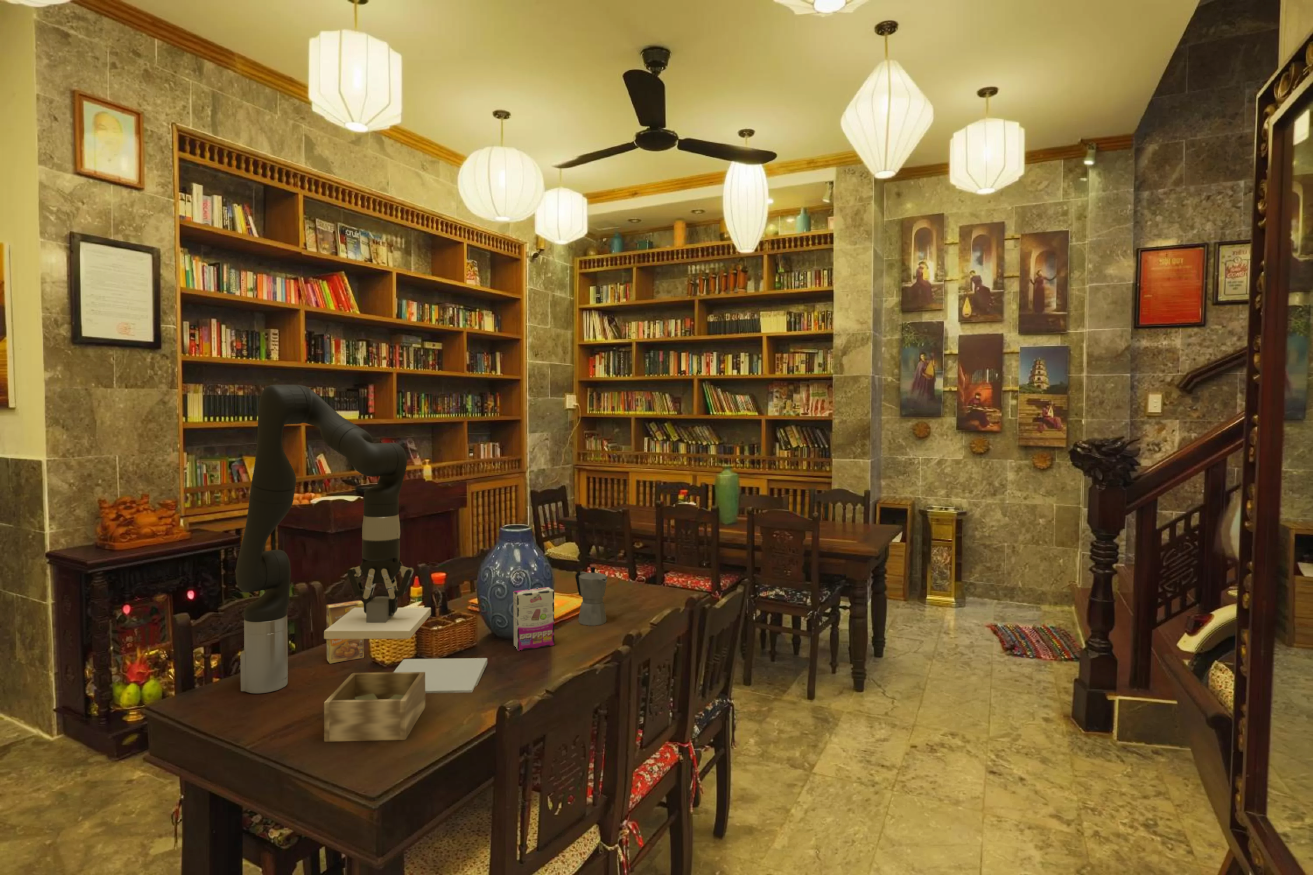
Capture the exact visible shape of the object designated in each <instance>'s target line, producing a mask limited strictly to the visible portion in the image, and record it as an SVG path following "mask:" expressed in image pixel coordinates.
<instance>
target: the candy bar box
mask: <svg viewBox="0 0 1313 875" xmlns="http://www.w3.org/2000/svg"><path fill="white" fill-rule="evenodd" d="M529 589H530V590H528V589H519V590H513V591H512V593H513V594H512V595H513V596H512V601H513V602H512V603H513V604H512V605H513V607H512V608H513V613H512V614H513V618H512V619H513V647H514V646H515V647H516V648H515V647H514V648H515V649H516V651H518V652H521V651H527V650H533V649H539V648H547V647H551V646H555V590H554V589H553V588H551V586H548V587H547V586H546V587H538V589H536V588H529ZM520 650H521V651H520Z"/></svg>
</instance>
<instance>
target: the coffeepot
mask: <svg viewBox="0 0 1313 875" xmlns="http://www.w3.org/2000/svg"><path fill="white" fill-rule="evenodd" d="M574 578H575V581H576V587H577V591H578V595H579V596H580V597H582V601H581V602H580V603H581V604H580V608H579V614H578V619H577V620H578V623H579V624H580V625H583V626H586V625H588V626H589V627H594V626H595V627H596V625H598V626H602V625H604V624H606V622H608V620H607V615H606V614H607V613H606V608H605V603H604V597H605V594H606V588H607V582H608V575H606V574H604V573H600V572H596V567H595V566H590V572H586V571H583V570H577V572H576V573H575V576H574Z"/></svg>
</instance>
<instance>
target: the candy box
mask: <svg viewBox="0 0 1313 875" xmlns="http://www.w3.org/2000/svg"><path fill="white" fill-rule="evenodd" d="M325 606H326V610H325V612H326V629H327V628H329V627H330V626H331V625H333V624H334V623H335V622H336V621H338V620H339V619H340V618H342V617H343V616H344V615H345V614H347V613H348V612H349V611H351V610H352V609H353V608H364V601H362V600H361V599H358V600H352V601H351V600H350V601H344V602H339V603H338V602H337V603H329V604H326V605H325ZM364 640H365V639H326V660H327V662H328V663H329V664H330V665H331V664H334V663H339V662H347V661H352V660H354V661H355V660H358V659H364V657H365V650H364V646H365V643H364V642H365V641H364Z"/></svg>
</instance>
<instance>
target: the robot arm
mask: <svg viewBox="0 0 1313 875" xmlns="http://www.w3.org/2000/svg"><path fill="white" fill-rule="evenodd" d="M257 412H258V413H257V437H256V438H257V439H256V440H257V442H256V450H255V456H254V459H255V460H254V466H253V471H252V472H253V473H252V477H251V478H252V479H251V484H250V490H249V491H250V492H249V500H248V508H247V515H246V521H245V529H244V532H243V537H242V540H241V545H240V548H239V553H238V557H237V561H236V566H235V582H236V585H237V589H239V591H241V592H243V593H256V592H260V591H261V592H262V591H265V592H264V593H262V595H261V596H260V597H259V598H258V599H256V600H255V601H253V602H251V603H250V604H248V605H246V606H245V608H244V612H243V619H244V620H243V627H244V628H243V631H244V632H243V634H244V635H243V636H244V637H243V638H244V639H243V641H244V645H243V646H244V648H243V650H241V652H240V692H245V693H250V694H265V693H271V692H275V691H278V690H281V689H283V688H285V687H286V686H287V685H288V680H289V679H288V676H289V675H288V674H289V673H288V672H289V671H288V670H289V669H288V665H289V664H288V608H289V604H290V593H291V591H290V590H291V572H292V571H291V562H290V558H289V556H288V554H287V553H286V551H284V550H281V549H272V550H266V551H265V550H264V549H265V545H266V544H267V541H268V539H269V537H270V536H271V534H272V533H273V532H274V530H275V529H276V528H277V527H278V526H279V524H280V523H281V522H282V520H283V519H284V518H286V516H287V514H288V513H289V512H290V510H291V508H292V506H293V504H294V503H293V502H294V498H295V491H296V485H297V477H296V473H295V470H294V468H293V466H292V464H291V462H290V460H289V459H288V457H287V455H286V452H285V451H284V447H283V434H284V433H283V432H284V428H285V425H288V426H289V425H301V424H307V425H310V426H313V427H315V428H317V429H319V432H320V436H321V438H322V440H323V441H324V443H325V444H326V445H327V446H328V447H329V448H330V449H332V450H334V451H335V452H337V453H339V454H340V455H342V456H343V457H345V458H346V459H347V462H349V463H350V465H351V466H352V467H353V468H354V469H355V471H357V473H359V474H361V475H363V476H366V477H372V478H373V477H379V478H378V481H377V484H375V485H374V486H372V487H369V488H367V489H366V490H365V491H364V493H363V519H362V520H363V521H362V526H361V527H362V528H361V530H362V532H361V533H362V534H361V535H362V536H361V538H362V539H361V540H362V541H361V544H362V545H361V546H362V547H361V550H362V551H361V554H362V555H361V558H362V560H361V563H360V564H359V565H358V566H356V567H355V566H352V567H351V568H349V569H348V570H347V571H346V573H347V576H348V579H349V582H350V585H351V588H352V590H353V593H354V596H356V597H361V598H363V604H364V612H365V613H366V604H367V603H368V602H370V601H371V600H372V599H373V598H374V596H373V593H374V591H375V587H376V585H377V584H383V585H385V589H386V590H387V592H388V597H390V599H388V602H389V616H393V615H394V613H395V612H396V611H397V608H398V598H399V597H402V596H404V595H405V594H406V593H407V592H408V589H409V586H410V583H411V581H412V578H413V575H414V573H415V569H414V567H413V566H412V567H406V566H404V565H403V564H402V562H401V557H400V556H401V552H400V551H401V550H400V548H401V544H400V543H401V539H400V538H401V523H400V515H399V513H400V512H399V510H400V509H399V508H400V506H399V505H400V501H399V500H400V499H399V498H400V497H399V496H400V494H401V493H400V492H401V489H402V486H403V483H404V479H405V475H406V471H407V468H408V467H407V466H408V458H407V453H406V450H405V449H404V447H403V446H401V444H399V443H397V442H378V443H377V442H376V443H375V442H374V438H373V437H372V435H371V434H370V433H369V432H368V431H367V430H365V429H364V428H361V427H360V426H359V425H357V424H355V423H353V422H351V421H350V420H348V419H346V418H345V417H343V416H342V415H340V414H339V413H338V412H337V411H336V410H335V409H333V407H332V406H330V405H329V404H328V403H327V402H326V401H325V400H324V399H323V398H322V397H321V396H320V395H318V394H317V393H316V392H315V391H314V390H313V389H311V388H310V387H308V386H306V385H302V384H270V385H267V386H265V388H264V389H263V390H262V392H261V394H260V397H259V402H258V410H257ZM362 573H363V575H364V576H365V578H366V582H365V584H364V585H365V586H364V585H363V582H362V579H361V577H360V576H361V575H362ZM399 573H401V576H400V577H402V580H401V583H400V586H399V588H398V586H397V583H398V581H397V579H396V577H397V576H398V574H399Z"/></svg>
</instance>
